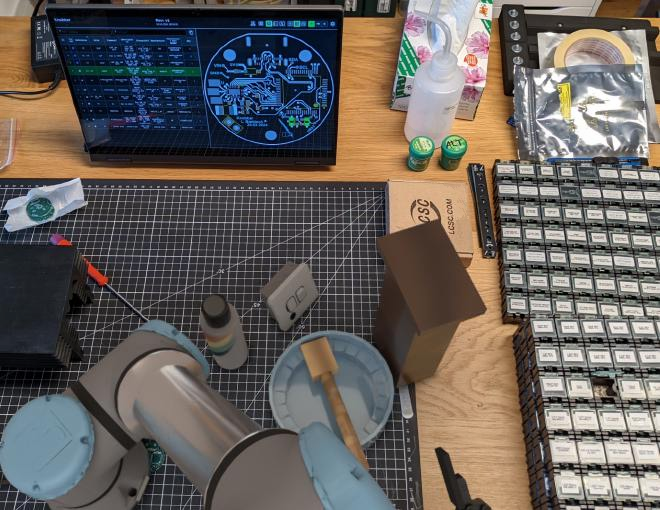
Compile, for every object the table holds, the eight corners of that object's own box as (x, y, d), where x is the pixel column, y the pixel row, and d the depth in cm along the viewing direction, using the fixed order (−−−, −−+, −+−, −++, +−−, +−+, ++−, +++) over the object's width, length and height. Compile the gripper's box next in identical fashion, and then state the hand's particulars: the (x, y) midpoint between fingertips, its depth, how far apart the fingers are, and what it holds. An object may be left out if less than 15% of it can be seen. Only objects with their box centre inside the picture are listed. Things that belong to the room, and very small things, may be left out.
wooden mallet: (350, 482, 88) (350, 477, 86) (300, 351, 101) (299, 344, 99) (379, 471, 89) (379, 466, 87) (326, 342, 102) (325, 336, 100)
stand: (394, 402, 100) (420, 332, 74) (362, 327, 107) (376, 237, 81) (444, 384, 102) (487, 309, 76) (410, 311, 108) (438, 218, 82)
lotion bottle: (231, 331, 106) (213, 278, 89) (255, 351, 104) (242, 301, 87) (207, 356, 104) (184, 306, 86) (232, 377, 102) (213, 330, 85)
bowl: (293, 479, 94) (291, 472, 89) (256, 365, 103) (253, 352, 98) (409, 435, 98) (413, 426, 93) (364, 329, 107) (366, 315, 101)
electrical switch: (285, 334, 106) (278, 308, 98) (263, 317, 108) (254, 291, 100) (319, 295, 110) (315, 268, 102) (297, 280, 112) (291, 252, 104)
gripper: (331, 672, 72) (277, 500, 71) (521, 587, 76) (472, 425, 75) (345, 719, 64) (284, 528, 64) (554, 622, 69) (500, 442, 68)
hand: (386, 472), depth 70 cm, fingers open, 13 cm apart
